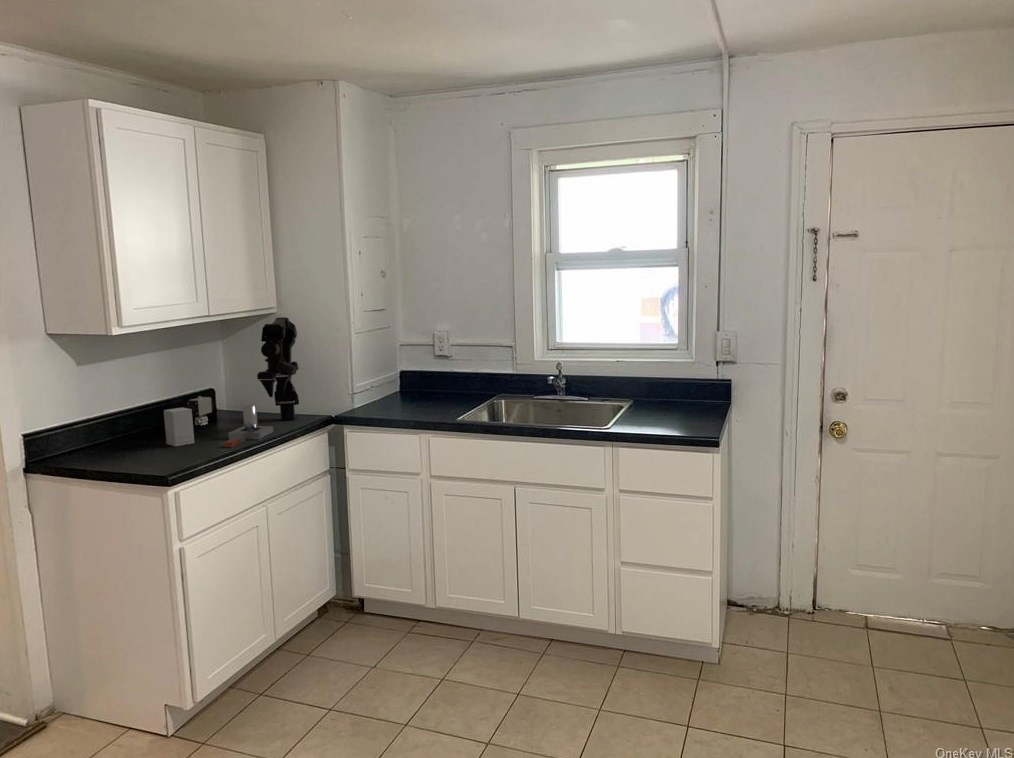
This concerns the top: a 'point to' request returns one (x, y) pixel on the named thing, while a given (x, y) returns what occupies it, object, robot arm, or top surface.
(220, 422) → the top surface
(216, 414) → the top surface
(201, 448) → the top surface
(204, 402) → the pneumatic valve
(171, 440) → the supplement box
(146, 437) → the top surface
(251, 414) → the shiny metal cylinder
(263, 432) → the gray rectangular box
